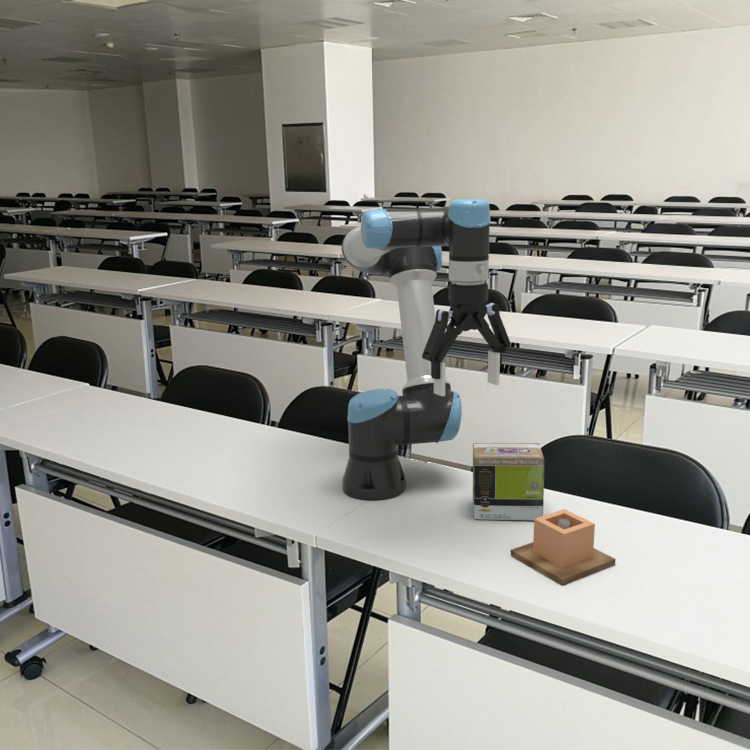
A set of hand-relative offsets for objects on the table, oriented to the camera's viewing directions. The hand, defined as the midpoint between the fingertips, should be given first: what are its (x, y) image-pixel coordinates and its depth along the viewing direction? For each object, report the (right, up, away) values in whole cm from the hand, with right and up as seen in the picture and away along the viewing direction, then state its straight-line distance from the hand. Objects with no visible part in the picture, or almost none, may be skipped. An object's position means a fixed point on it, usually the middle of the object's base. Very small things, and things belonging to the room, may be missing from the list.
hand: (466, 389), depth 158 cm
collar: (+18, -32, -3) cm, 37 cm away
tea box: (+11, -28, +19) cm, 35 cm away
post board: (+18, -33, -3) cm, 38 cm away
